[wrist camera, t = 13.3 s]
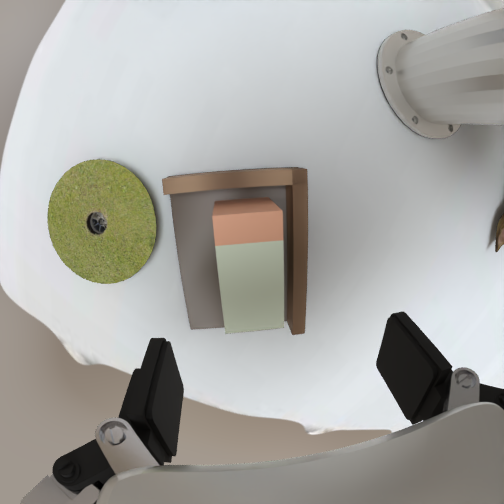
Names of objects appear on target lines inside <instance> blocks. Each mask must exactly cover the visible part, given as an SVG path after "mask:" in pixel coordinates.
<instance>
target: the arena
mask: <svg viewBox="0 0 504 504" xmlns="http://www.w3.org/2000/svg"><path fill="white" fill-rule="evenodd" d="M162 183H163V193H164V195H167V194H170V198H171V207H172V216H173V224H174V231H175V239H176V246H177V253H178V260H179V266H180V272H181V279H182V285H183V290H184V296H185V302H186V307H187V312H188V318H189V323H190V328H191V329H207V328H220V327H225V326H224V319H223V311H222V303H221V294H220V286H219V277H218V268H217V259H216V249H215V239H214V229H213V219H212V215H213V209H214V203H215V201H222V200H234V199H247V198H262V197H269V198H270V199H271V200H272V201H273V202H274V203H275V204H276V205H277V206H278V207H279V208H280V209H281V210H282V211H283V246H284V321H287V322H288V325H289V328H290V330H291V333H292V335H296V334H303V333H305V316H306V293H307V259H308V183H307V169H304V168H298V167H289V168H262V169H244V170H230V171H217V172H205V173H195V174H186V175H177V176H169V177H167V178H164V179H162Z"/></svg>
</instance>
